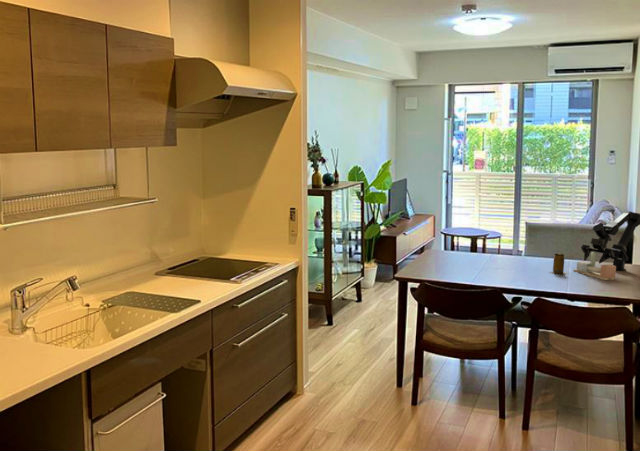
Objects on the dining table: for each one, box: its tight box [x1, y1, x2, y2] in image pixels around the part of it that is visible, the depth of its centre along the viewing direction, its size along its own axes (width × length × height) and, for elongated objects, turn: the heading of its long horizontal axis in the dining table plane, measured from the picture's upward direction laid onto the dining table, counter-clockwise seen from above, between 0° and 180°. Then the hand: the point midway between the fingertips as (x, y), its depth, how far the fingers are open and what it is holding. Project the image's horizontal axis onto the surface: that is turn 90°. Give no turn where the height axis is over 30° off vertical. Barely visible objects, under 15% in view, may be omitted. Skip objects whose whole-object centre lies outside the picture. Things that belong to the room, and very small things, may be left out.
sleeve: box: [576, 260, 592, 273], centre depth 386 cm, size 5×8×5 cm, turn 22°
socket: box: [600, 263, 617, 279], centre depth 370 cm, size 7×4×7 cm, turn 112°
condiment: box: [549, 252, 569, 276], centre depth 383 cm, size 7×8×12 cm
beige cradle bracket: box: [587, 251, 601, 274], centre depth 381 cm, size 3×15×12 cm, turn 22°
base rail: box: [572, 268, 616, 281], centre depth 380 cm, size 7×26×1 cm, turn 22°
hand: (591, 261), depth 379 cm, fingers open, 9 cm apart
